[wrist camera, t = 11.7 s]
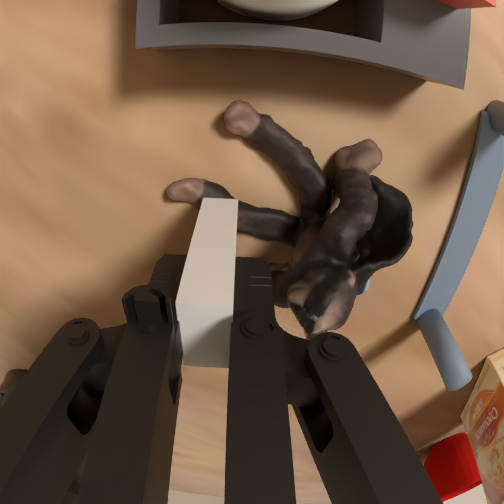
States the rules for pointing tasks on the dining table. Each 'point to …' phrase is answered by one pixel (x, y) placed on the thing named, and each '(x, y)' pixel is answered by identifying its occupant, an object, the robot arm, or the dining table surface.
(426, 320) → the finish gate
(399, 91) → the dining table surface
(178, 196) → the stuffed animal
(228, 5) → the dome
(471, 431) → the coffeecake box
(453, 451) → the ceramic cup
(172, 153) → the dining table surface
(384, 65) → the dome base
